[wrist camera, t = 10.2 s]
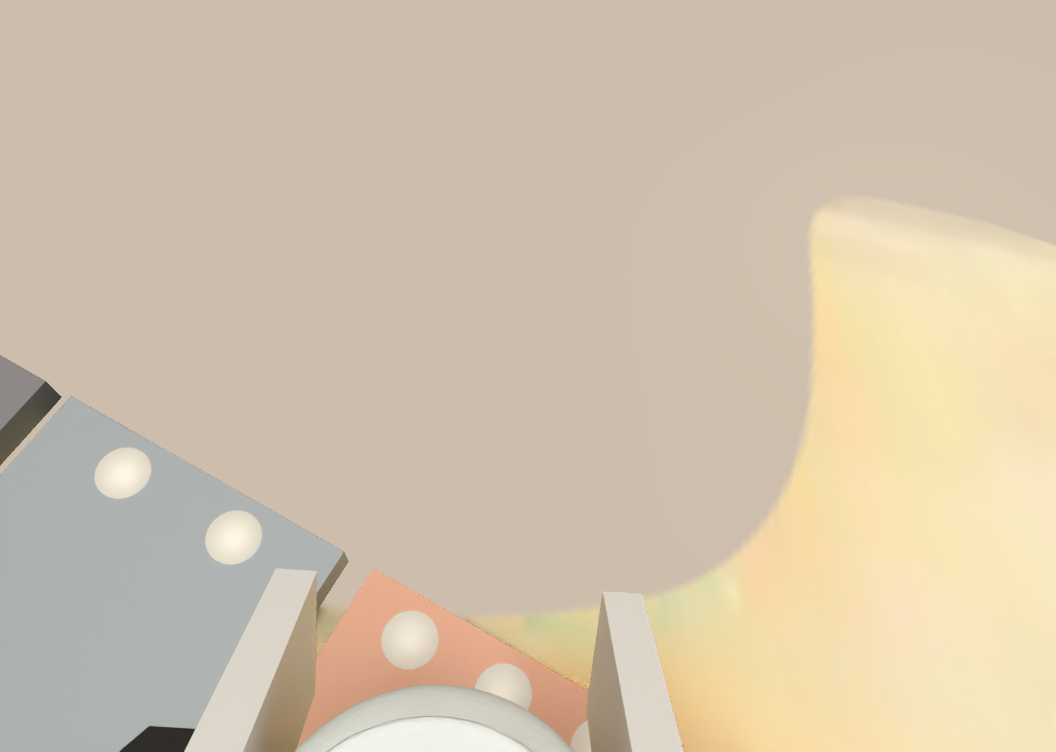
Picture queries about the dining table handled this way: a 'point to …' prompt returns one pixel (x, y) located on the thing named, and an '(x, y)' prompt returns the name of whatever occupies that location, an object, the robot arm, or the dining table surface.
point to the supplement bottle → (435, 724)
